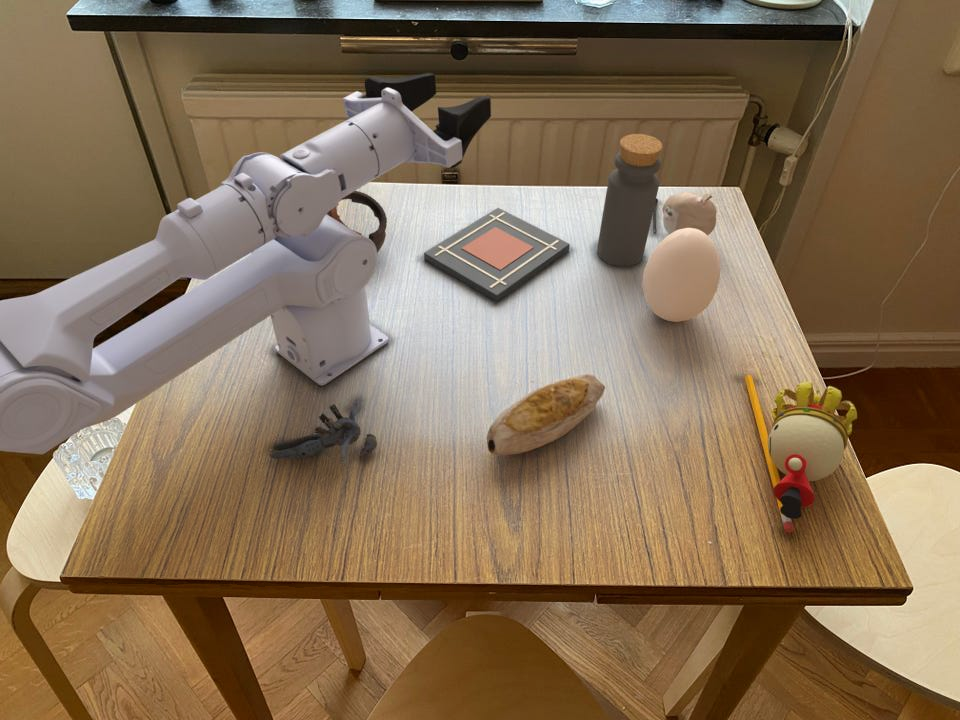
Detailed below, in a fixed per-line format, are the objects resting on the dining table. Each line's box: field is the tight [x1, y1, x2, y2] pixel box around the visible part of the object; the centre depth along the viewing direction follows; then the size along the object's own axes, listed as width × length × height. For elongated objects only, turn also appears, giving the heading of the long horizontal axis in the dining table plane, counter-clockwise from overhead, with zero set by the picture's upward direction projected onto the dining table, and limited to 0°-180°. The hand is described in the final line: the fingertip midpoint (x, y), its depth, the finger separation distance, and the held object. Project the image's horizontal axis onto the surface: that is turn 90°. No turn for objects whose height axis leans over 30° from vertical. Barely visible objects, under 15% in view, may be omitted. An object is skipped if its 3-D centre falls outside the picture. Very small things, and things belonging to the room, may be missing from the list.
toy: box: [768, 381, 858, 520], centre depth 64 cm, size 7×7×15 cm
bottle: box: [596, 133, 663, 267], centre depth 84 cm, size 6×6×15 cm
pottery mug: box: [327, 190, 388, 253], centre depth 87 cm, size 12×10×8 cm
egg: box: [642, 228, 721, 323], centre depth 77 cm, size 8×8×11 cm
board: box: [423, 207, 571, 303], centre depth 88 cm, size 14×12×1 cm
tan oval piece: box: [486, 374, 606, 457], centre depth 67 cm, size 5×14×4 cm, turn 126°
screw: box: [652, 197, 659, 234], centre depth 95 cm, size 8×1×1 cm
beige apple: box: [662, 191, 718, 237], centre depth 89 cm, size 7×6×8 cm
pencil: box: [744, 374, 795, 533], centre depth 67 cm, size 1×18×1 cm, turn 175°
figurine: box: [269, 399, 378, 464], centre depth 65 cm, size 12×10×5 cm
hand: (460, 94), depth 72 cm, fingers open, 7 cm apart
